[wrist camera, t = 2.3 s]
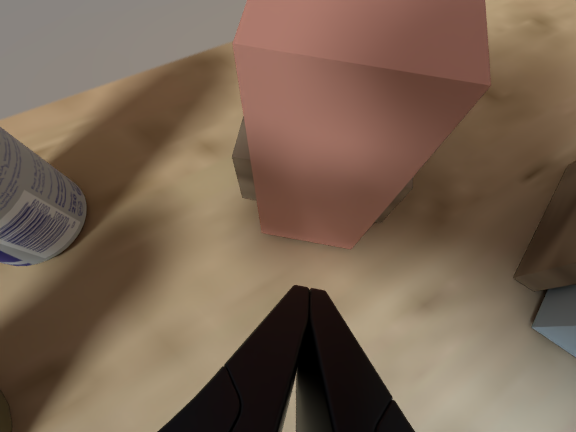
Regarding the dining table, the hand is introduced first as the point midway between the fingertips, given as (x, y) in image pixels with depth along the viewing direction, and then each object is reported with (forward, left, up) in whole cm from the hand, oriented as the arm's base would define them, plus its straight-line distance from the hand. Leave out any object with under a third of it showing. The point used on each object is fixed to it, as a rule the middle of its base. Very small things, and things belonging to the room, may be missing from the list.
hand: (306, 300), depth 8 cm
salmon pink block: (+5, -4, -8) cm, 10 cm away
